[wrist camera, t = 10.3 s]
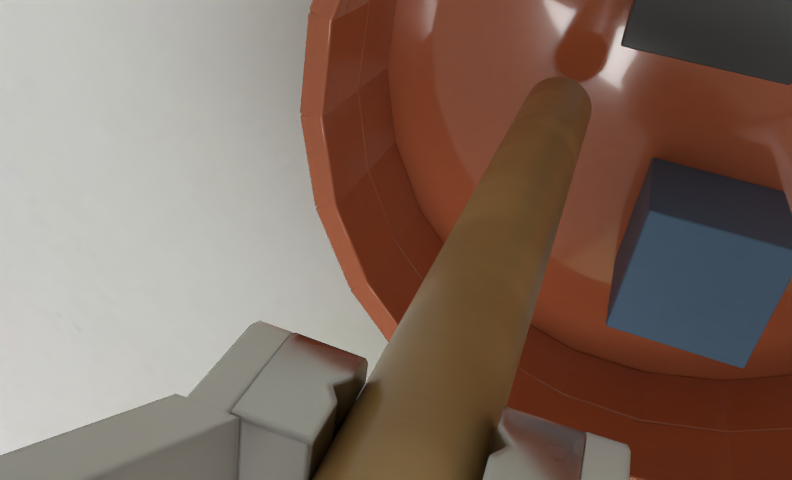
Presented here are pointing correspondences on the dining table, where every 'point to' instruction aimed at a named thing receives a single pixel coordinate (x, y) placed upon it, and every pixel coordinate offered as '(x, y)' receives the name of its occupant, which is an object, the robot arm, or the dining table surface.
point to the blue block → (702, 262)
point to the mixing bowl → (582, 215)
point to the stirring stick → (469, 311)
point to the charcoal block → (717, 34)
